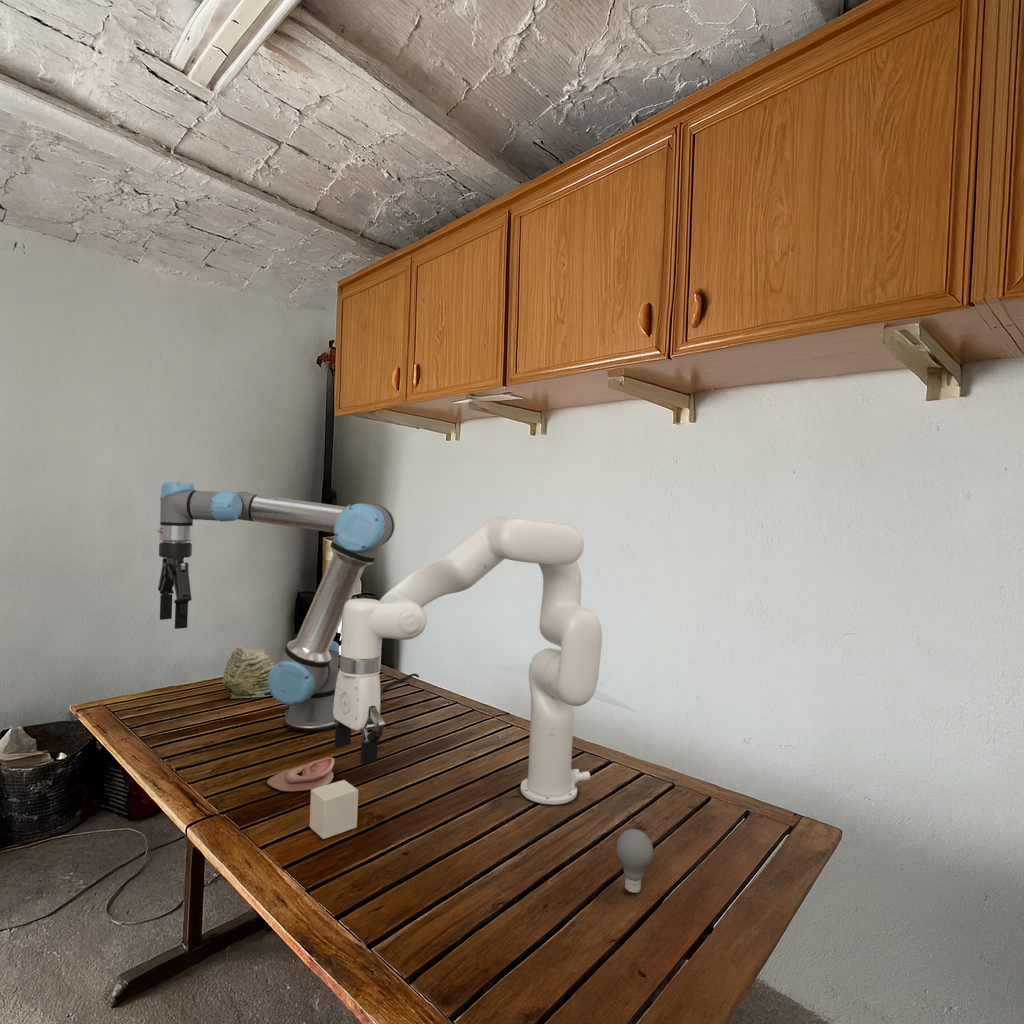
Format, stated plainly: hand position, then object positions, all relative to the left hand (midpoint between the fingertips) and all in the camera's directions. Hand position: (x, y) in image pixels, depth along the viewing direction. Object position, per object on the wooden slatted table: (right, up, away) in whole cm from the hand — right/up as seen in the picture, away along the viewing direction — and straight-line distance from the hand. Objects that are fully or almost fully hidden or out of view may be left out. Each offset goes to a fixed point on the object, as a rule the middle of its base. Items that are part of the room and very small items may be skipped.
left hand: (173, 623), depth 164 cm
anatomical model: (+41, -31, -24) cm, 56 cm away
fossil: (+7, -28, +34) cm, 45 cm away
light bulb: (+108, -35, -58) cm, 127 cm away
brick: (+53, -32, -42) cm, 75 cm away
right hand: (+58, -17, -43) cm, 74 cm away
